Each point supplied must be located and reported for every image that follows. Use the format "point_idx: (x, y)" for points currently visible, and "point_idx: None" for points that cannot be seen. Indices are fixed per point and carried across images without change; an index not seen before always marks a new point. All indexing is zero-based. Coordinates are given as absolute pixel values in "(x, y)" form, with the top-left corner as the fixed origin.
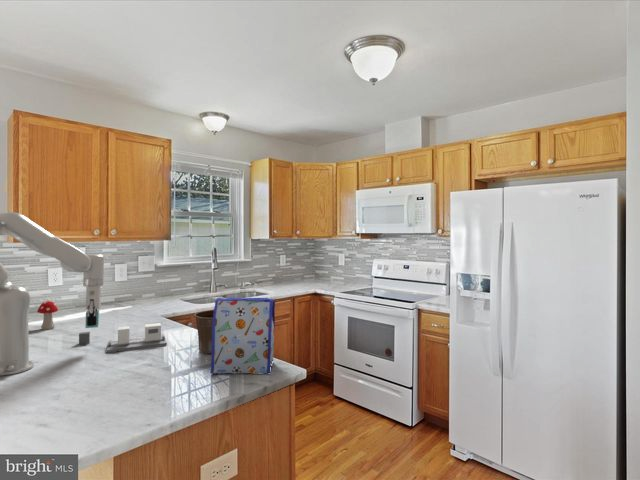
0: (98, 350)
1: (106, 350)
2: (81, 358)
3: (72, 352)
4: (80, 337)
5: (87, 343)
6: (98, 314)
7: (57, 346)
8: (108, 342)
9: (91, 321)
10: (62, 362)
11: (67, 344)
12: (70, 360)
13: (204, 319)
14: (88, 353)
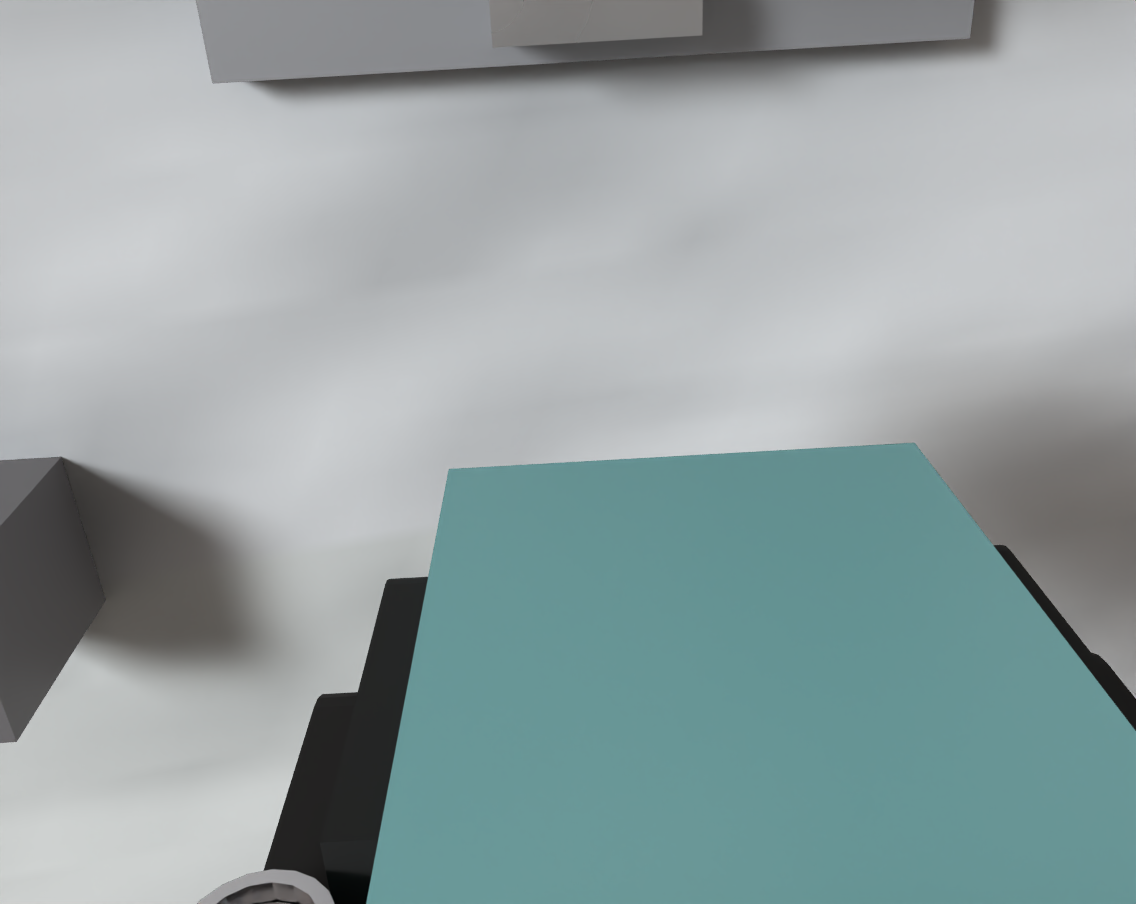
0: (649, 217)
1: (967, 32)
2: (1044, 418)
3: None
4: (42, 669)
5: (64, 488)
6: (819, 756)
7: (119, 846)
8: (672, 34)
9: None
10: (1092, 623)
11: (23, 756)
12: (1055, 547)
13: None
14: (779, 361)
